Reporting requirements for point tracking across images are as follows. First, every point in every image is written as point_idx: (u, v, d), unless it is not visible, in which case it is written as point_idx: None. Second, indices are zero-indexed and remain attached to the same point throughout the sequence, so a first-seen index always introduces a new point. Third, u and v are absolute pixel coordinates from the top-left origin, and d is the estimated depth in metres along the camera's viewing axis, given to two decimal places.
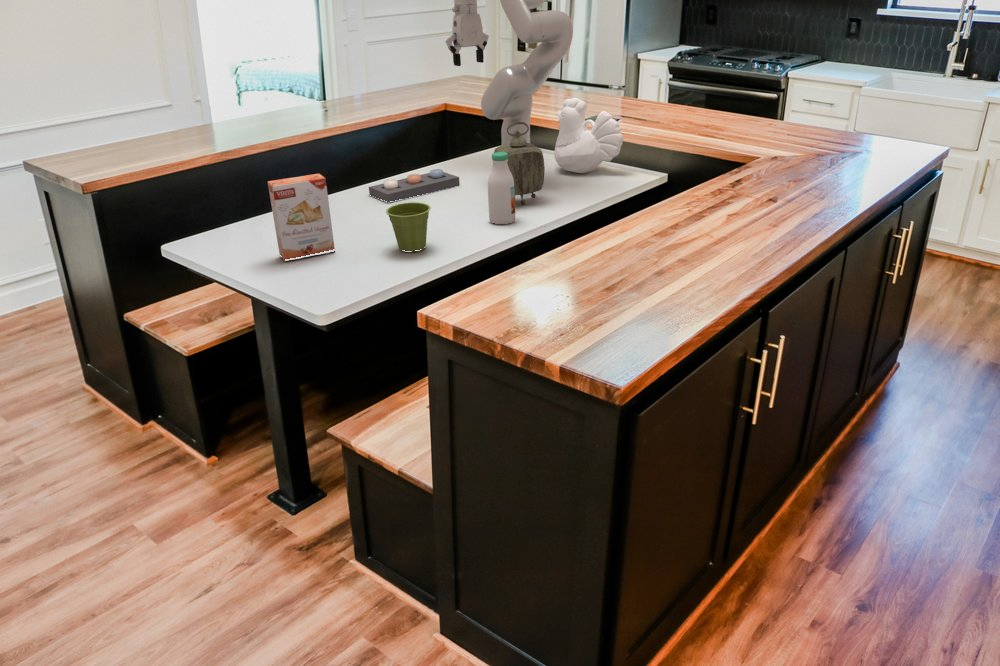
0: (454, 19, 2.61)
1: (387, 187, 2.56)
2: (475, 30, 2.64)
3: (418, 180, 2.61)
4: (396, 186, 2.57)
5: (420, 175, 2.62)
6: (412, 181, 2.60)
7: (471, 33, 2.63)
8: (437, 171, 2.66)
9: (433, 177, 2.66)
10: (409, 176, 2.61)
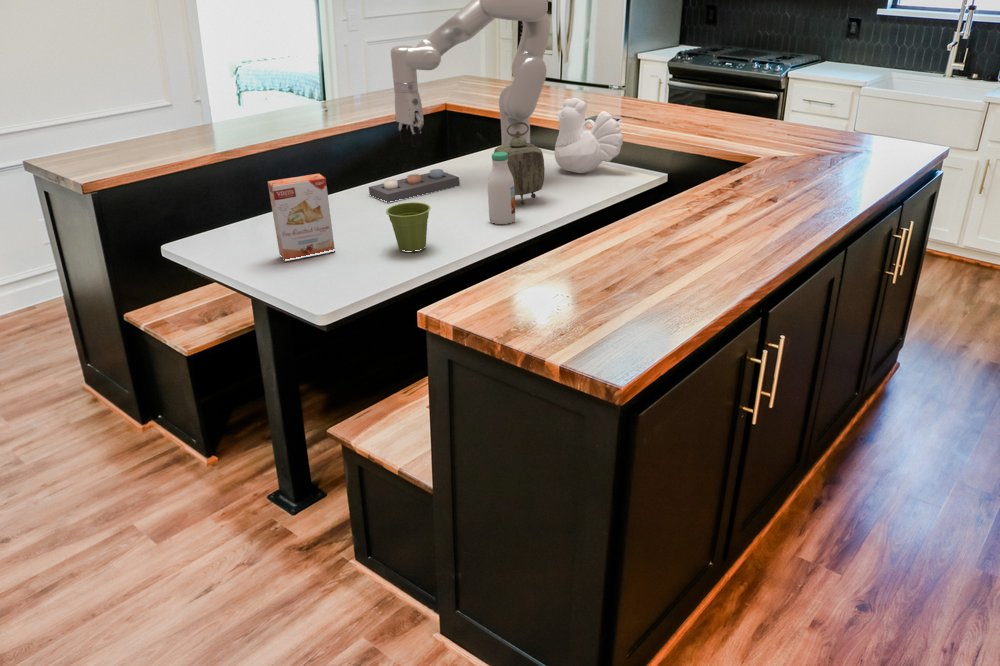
0: (413, 97, 2.47)
1: (387, 187, 2.56)
2: None
3: (418, 180, 2.61)
4: (396, 186, 2.57)
5: (420, 175, 2.62)
6: (412, 181, 2.60)
7: None
8: (437, 171, 2.66)
9: (433, 177, 2.66)
10: (409, 176, 2.61)
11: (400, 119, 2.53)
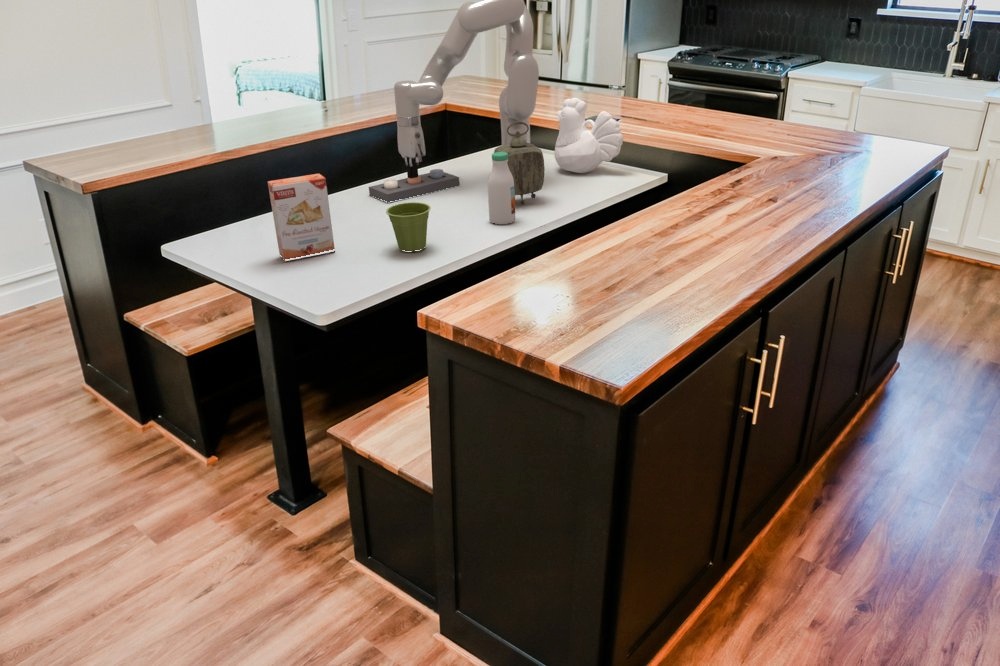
0: (415, 131, 2.51)
1: (387, 187, 2.56)
2: None
3: (418, 181, 2.61)
4: (396, 186, 2.57)
5: (419, 176, 2.62)
6: (413, 182, 2.61)
7: None
8: (437, 171, 2.66)
9: (433, 177, 2.66)
10: None
11: (402, 152, 2.58)
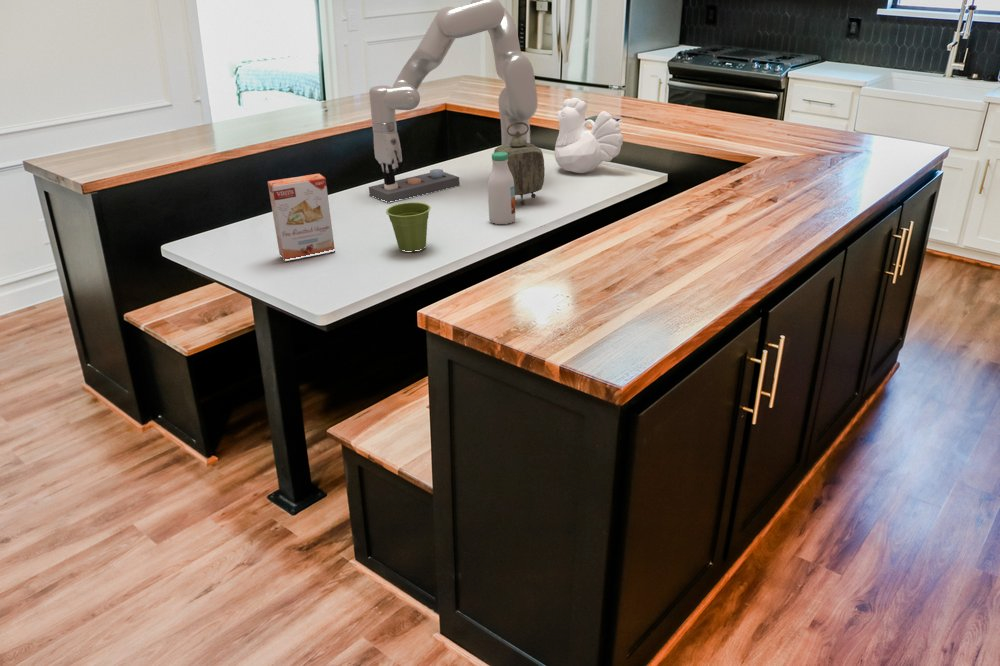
0: (391, 137, 2.47)
1: (388, 189, 2.56)
2: None
3: None
4: (396, 188, 2.57)
5: (420, 179, 2.63)
6: None
7: None
8: (437, 171, 2.66)
9: (433, 177, 2.66)
10: (409, 180, 2.62)
11: (379, 158, 2.53)
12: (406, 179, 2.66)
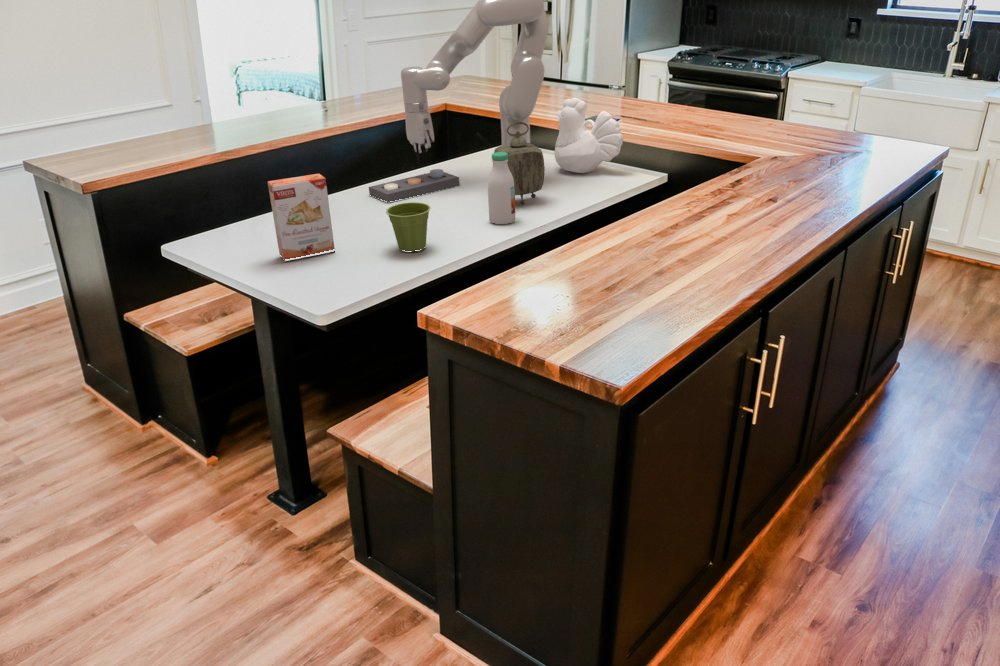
0: (423, 117, 2.51)
1: None
2: None
3: None
4: None
5: (420, 179, 2.63)
6: None
7: None
8: (437, 171, 2.66)
9: (433, 177, 2.66)
10: (409, 180, 2.62)
11: (411, 138, 2.58)
12: (406, 179, 2.66)
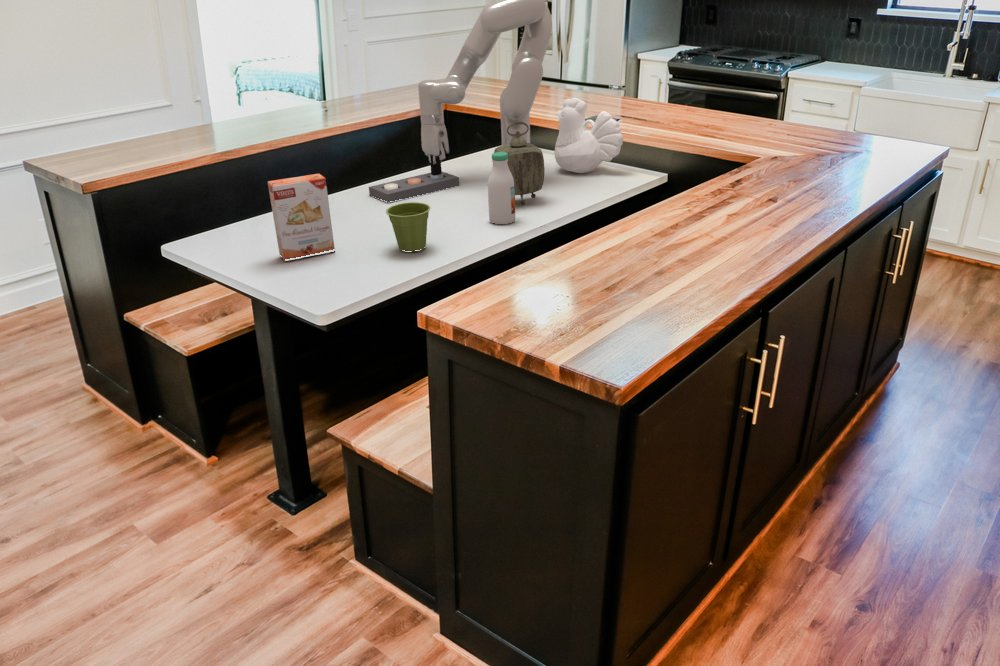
0: (439, 129, 2.57)
1: None
2: None
3: None
4: None
5: (420, 179, 2.63)
6: None
7: None
8: (437, 175, 2.66)
9: None
10: (409, 180, 2.62)
11: (426, 149, 2.63)
12: (406, 179, 2.66)
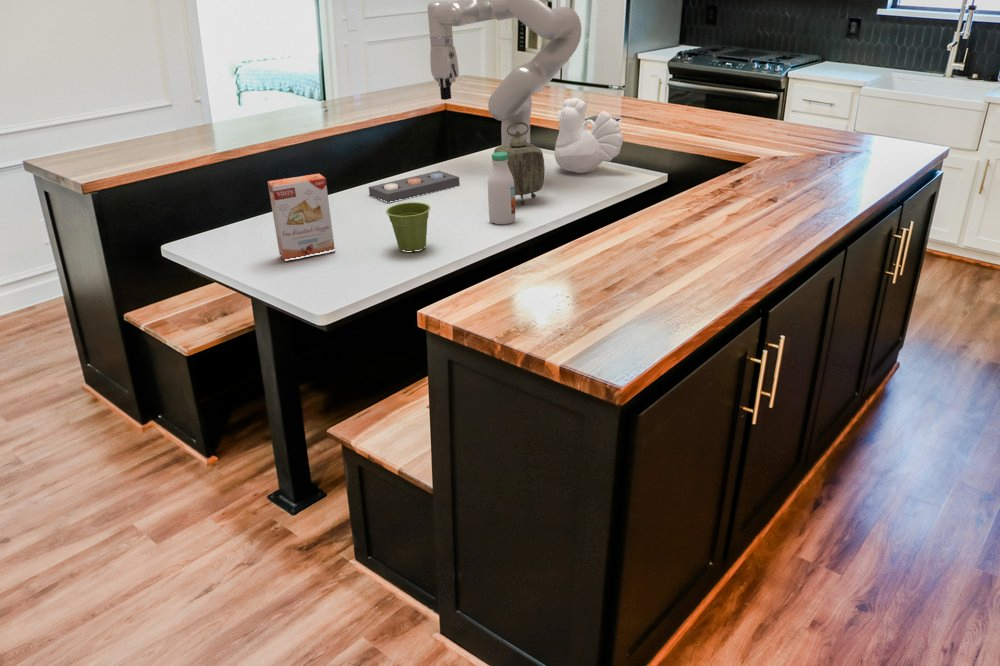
0: (449, 51, 2.58)
1: None
2: None
3: None
4: None
5: (420, 179, 2.63)
6: None
7: None
8: (437, 175, 2.66)
9: None
10: (409, 180, 2.62)
11: (436, 73, 2.65)
12: (406, 179, 2.66)
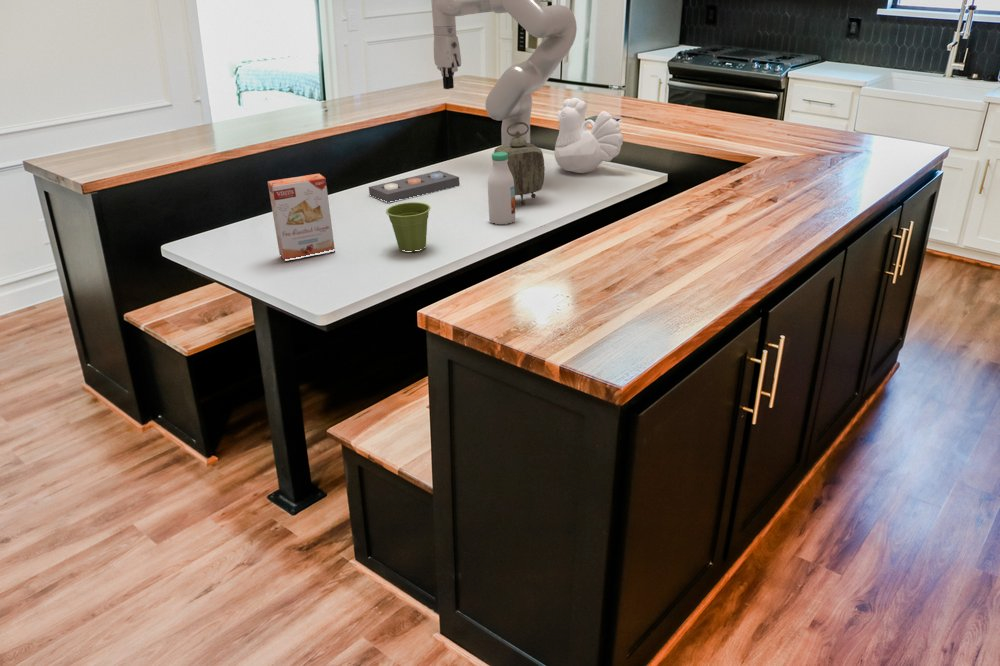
0: (451, 40, 2.60)
1: None
2: None
3: None
4: None
5: (420, 179, 2.63)
6: None
7: None
8: (437, 175, 2.66)
9: None
10: (409, 180, 2.62)
11: (439, 62, 2.67)
12: (406, 179, 2.66)
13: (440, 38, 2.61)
